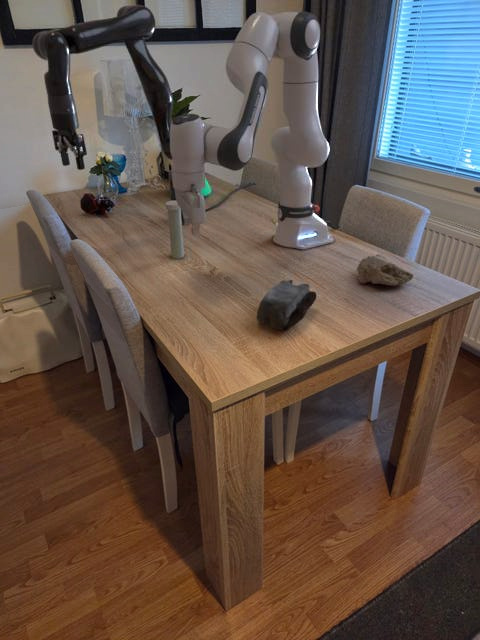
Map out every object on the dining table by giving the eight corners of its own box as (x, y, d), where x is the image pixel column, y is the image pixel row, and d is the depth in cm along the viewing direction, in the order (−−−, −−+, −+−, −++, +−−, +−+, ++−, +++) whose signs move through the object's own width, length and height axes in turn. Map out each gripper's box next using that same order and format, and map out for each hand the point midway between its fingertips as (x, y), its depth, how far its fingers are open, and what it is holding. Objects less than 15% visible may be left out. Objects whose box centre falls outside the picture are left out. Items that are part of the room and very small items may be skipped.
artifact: (374, 296, 130) (415, 290, 135) (381, 274, 126) (423, 268, 131) (341, 267, 144) (380, 262, 149) (346, 246, 140) (385, 242, 145)
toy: (107, 186, 182) (78, 185, 188) (99, 205, 180) (70, 204, 185) (122, 203, 193) (95, 201, 198) (115, 222, 190) (87, 220, 196)
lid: (179, 204, 148) (179, 199, 147) (183, 209, 144) (183, 204, 143) (164, 206, 146) (164, 201, 145) (167, 211, 142) (167, 206, 141)
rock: (291, 341, 110) (294, 313, 105) (251, 329, 114) (251, 302, 110) (317, 308, 123) (320, 283, 119) (280, 299, 128) (281, 274, 124)
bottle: (182, 253, 156) (178, 201, 147) (185, 257, 153) (181, 205, 143) (170, 254, 155) (165, 203, 145) (173, 259, 152) (168, 206, 142)
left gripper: (87, 112, 131) (96, 168, 139) (61, 108, 138) (72, 162, 147) (64, 114, 126) (75, 173, 134) (39, 110, 134) (51, 166, 142)
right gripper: (210, 189, 113) (212, 240, 120) (191, 171, 129) (193, 217, 136) (186, 191, 111) (189, 243, 118) (169, 172, 127) (173, 219, 135)
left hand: (73, 167), depth 141 cm, fingers open, 8 cm apart
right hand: (191, 229), depth 127 cm, fingers open, 8 cm apart
